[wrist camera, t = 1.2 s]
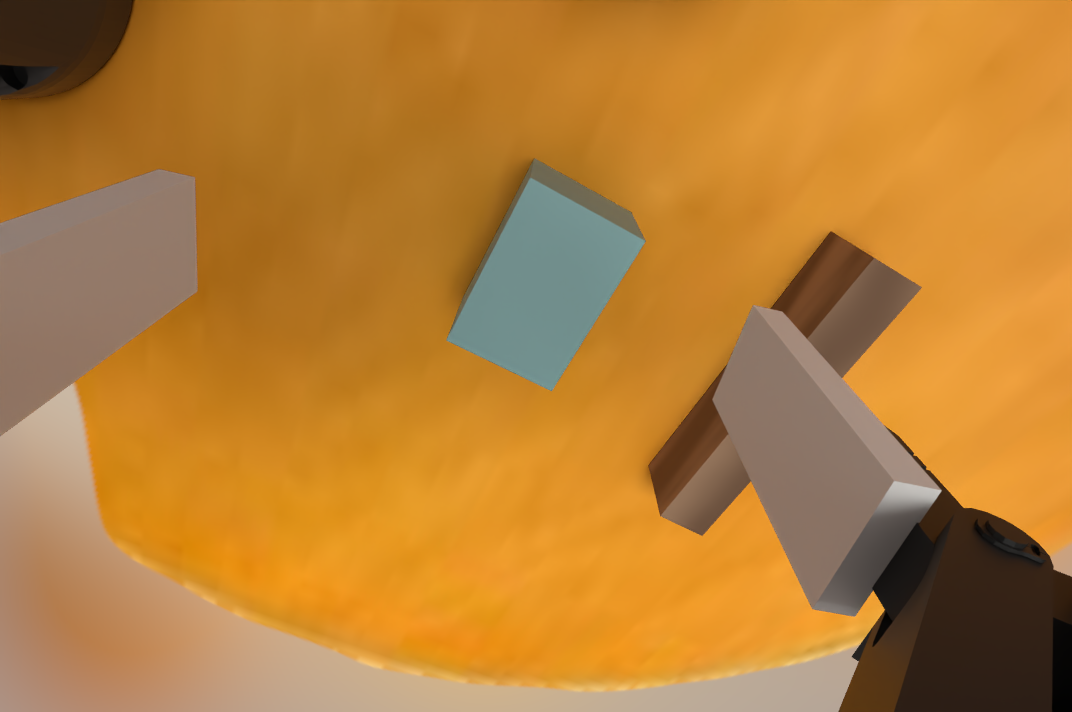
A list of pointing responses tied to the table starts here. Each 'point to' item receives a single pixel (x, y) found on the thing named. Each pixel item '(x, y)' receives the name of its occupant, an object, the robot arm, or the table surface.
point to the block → (546, 276)
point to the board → (835, 332)
